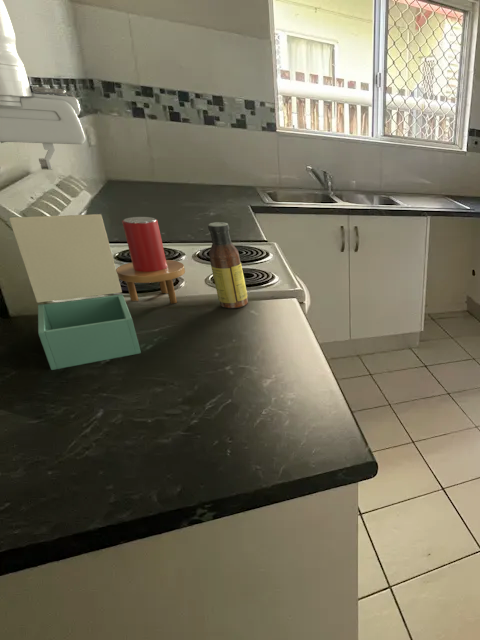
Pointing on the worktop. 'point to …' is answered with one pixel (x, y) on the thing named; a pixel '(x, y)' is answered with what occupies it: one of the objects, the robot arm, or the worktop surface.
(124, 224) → the can
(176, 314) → the worktop surface
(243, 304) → the sauce bottle
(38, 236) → the lid
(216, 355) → the worktop surface
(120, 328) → the box
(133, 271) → the stool
